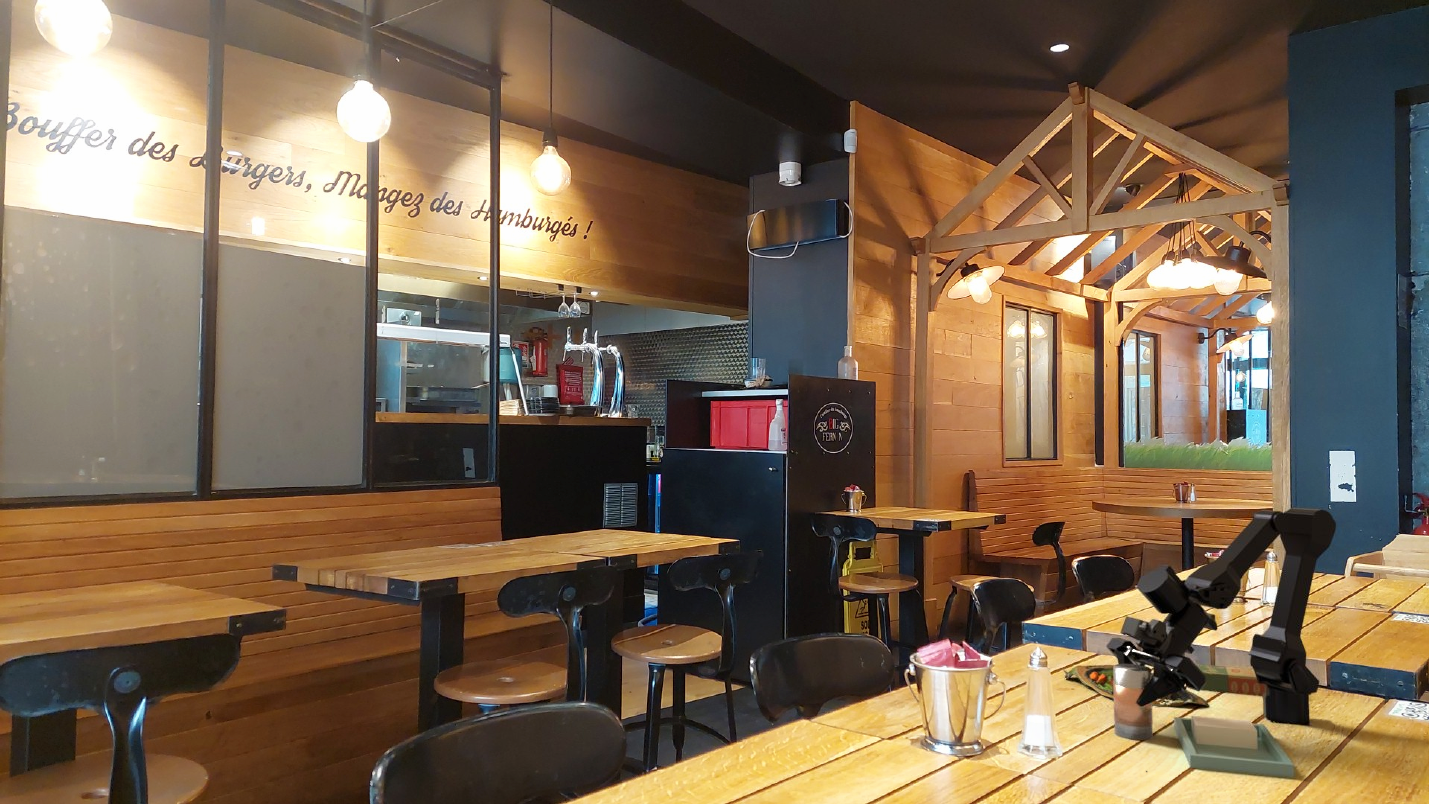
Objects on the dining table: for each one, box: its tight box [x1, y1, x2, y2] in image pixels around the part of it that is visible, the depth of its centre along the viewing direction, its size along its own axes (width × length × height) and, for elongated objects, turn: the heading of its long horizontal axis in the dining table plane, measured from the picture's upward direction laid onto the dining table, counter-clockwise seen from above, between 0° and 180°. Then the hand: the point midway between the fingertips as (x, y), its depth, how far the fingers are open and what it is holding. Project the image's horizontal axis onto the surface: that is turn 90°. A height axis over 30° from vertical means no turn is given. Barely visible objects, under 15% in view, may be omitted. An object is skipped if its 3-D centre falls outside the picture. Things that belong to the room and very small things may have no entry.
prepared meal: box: [1062, 664, 1210, 708], centre depth 196 cm, size 28×4×18 cm
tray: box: [1173, 716, 1295, 779], centre depth 156 cm, size 14×22×2 cm, turn 160°
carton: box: [1196, 663, 1266, 697], centre depth 197 cm, size 8×16×4 cm, turn 65°
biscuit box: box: [1190, 715, 1258, 749], centre depth 161 cm, size 9×6×3 cm, turn 70°
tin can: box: [1113, 663, 1154, 741], centre depth 165 cm, size 6×6×12 cm
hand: (1125, 699), depth 164 cm, fingers closed on tin can, 6 cm apart
